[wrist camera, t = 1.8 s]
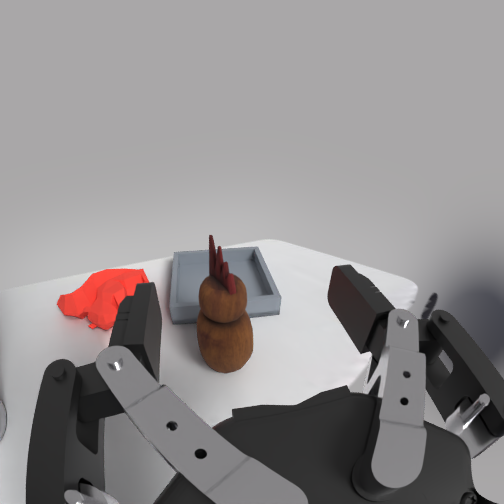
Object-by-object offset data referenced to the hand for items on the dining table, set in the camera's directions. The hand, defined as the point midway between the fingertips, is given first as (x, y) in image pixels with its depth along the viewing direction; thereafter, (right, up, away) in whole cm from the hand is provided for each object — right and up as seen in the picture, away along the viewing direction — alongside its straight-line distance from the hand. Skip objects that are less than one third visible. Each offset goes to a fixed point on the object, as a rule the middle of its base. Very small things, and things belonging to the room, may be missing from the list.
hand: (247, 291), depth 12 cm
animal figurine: (-21, -7, +24) cm, 33 cm away
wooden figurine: (-3, -11, +18) cm, 22 cm away
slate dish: (-5, -4, +30) cm, 31 cm away
